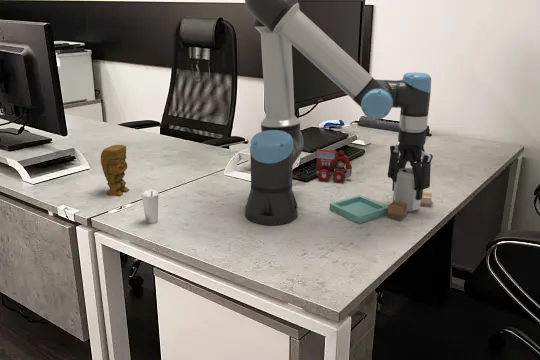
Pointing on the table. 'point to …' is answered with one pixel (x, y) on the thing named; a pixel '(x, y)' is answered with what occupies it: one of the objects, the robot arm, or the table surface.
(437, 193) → the table surface
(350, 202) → the tray
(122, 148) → the figurine
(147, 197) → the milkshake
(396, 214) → the walnut block
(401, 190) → the beverage can
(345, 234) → the table surface
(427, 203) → the beech block
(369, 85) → the robot arm
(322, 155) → the toy fire truck
